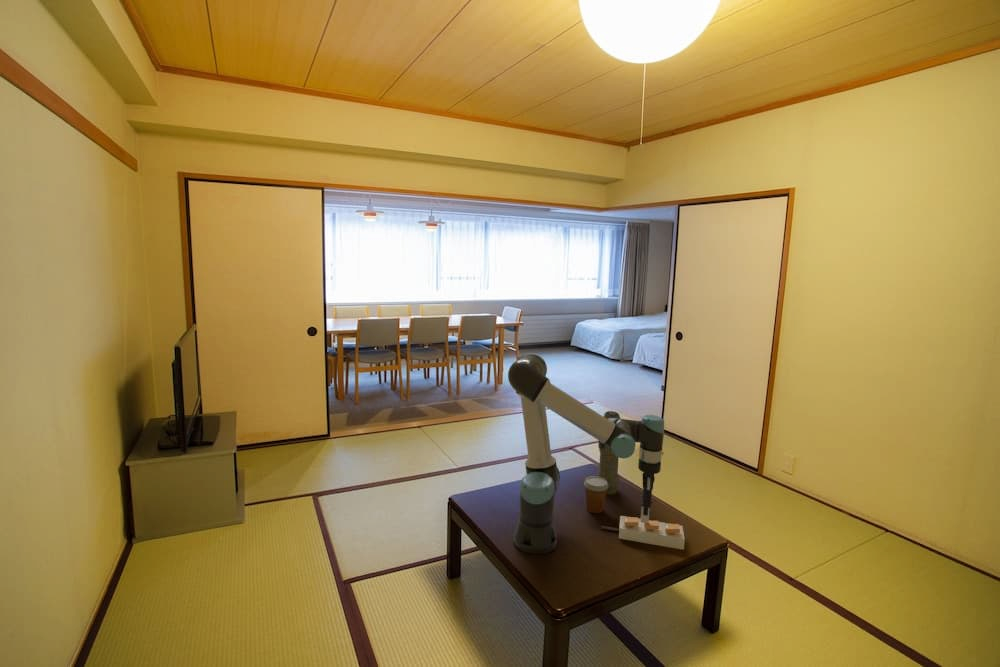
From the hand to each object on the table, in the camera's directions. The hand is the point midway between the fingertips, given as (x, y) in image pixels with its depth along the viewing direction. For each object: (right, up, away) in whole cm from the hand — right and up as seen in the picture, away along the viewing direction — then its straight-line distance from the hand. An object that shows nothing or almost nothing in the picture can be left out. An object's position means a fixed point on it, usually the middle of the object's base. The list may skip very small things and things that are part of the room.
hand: (644, 521), depth 170 cm
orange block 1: (-4, 0, +1) cm, 5 cm away
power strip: (-1, -6, +3) cm, 7 cm away
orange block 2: (+2, -1, -1) cm, 3 cm away
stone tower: (-5, -1, +37) cm, 37 cm away
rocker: (+9, -1, -3) cm, 10 cm away
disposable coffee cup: (-14, -3, +20) cm, 25 cm away
